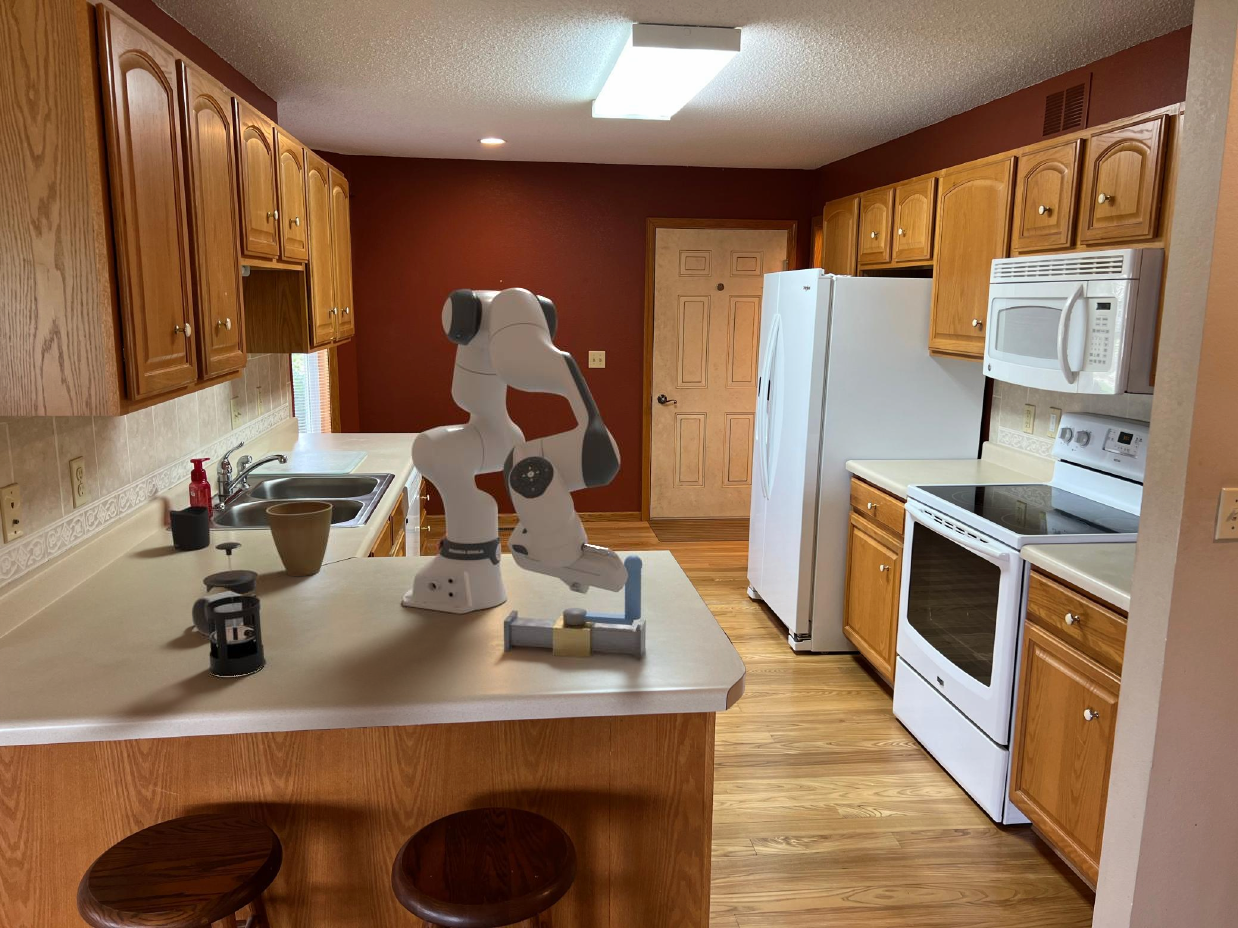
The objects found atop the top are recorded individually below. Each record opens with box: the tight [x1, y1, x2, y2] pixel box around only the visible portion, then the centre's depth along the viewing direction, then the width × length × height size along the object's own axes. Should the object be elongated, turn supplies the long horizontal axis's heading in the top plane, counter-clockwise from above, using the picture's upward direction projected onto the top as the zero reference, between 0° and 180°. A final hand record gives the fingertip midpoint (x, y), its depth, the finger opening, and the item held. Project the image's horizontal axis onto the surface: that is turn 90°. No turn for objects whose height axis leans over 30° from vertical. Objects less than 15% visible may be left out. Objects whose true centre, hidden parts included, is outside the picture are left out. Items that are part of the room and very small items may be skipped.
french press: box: [202, 541, 267, 676], centre depth 161 cm, size 12×9×23 cm
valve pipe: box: [503, 609, 647, 662], centre depth 170 cm, size 26×6×6 cm, turn 80°
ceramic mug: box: [191, 590, 243, 637], centre depth 181 cm, size 11×8×8 cm
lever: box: [562, 554, 643, 625], centre depth 168 cm, size 15×4×13 cm, turn 80°
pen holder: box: [168, 505, 211, 552], centre depth 238 cm, size 9×9×10 cm
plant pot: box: [265, 500, 333, 577], centre depth 217 cm, size 15×15×16 cm
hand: (580, 589), depth 156 cm, fingers closed
